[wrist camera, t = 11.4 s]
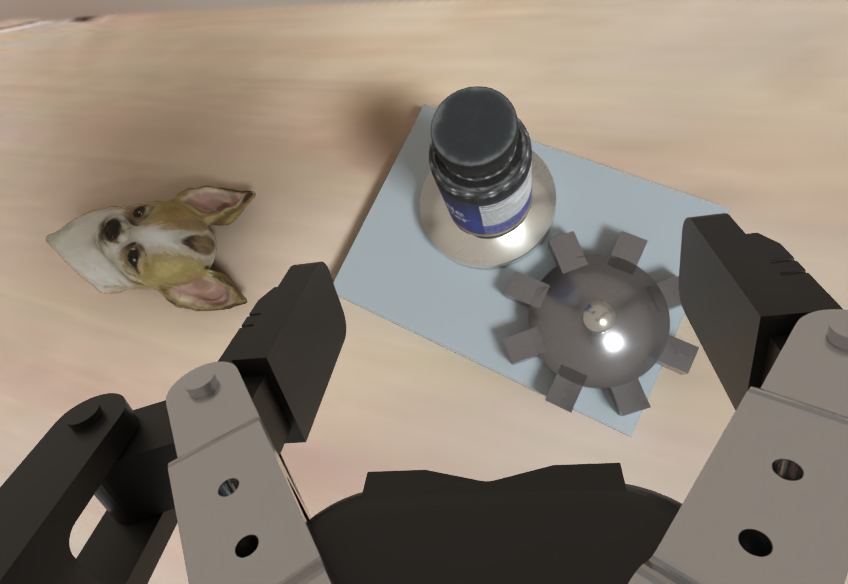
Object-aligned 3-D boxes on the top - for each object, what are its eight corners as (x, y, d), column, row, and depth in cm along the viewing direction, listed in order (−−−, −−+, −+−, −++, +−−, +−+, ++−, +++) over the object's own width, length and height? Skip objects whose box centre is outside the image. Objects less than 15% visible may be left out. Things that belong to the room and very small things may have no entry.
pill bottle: (435, 187, 39) (398, 108, 29) (507, 148, 39) (497, 52, 28) (471, 256, 38) (446, 199, 27) (548, 216, 37) (553, 141, 27)
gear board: (722, 216, 37) (729, 208, 36) (627, 435, 36) (631, 436, 34) (427, 114, 44) (424, 104, 42) (336, 294, 42) (328, 291, 41)
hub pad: (577, 170, 39) (579, 163, 37) (521, 291, 38) (520, 287, 36) (457, 128, 41) (454, 120, 40) (401, 239, 40) (397, 234, 39)
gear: (723, 277, 35) (738, 266, 32) (649, 450, 34) (658, 454, 31) (546, 210, 38) (547, 196, 36) (473, 365, 37) (468, 362, 35)
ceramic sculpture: (36, 165, 40) (218, 153, 38) (117, 205, 48) (270, 197, 46) (14, 302, 38) (205, 297, 36) (103, 319, 46) (262, 316, 44)
